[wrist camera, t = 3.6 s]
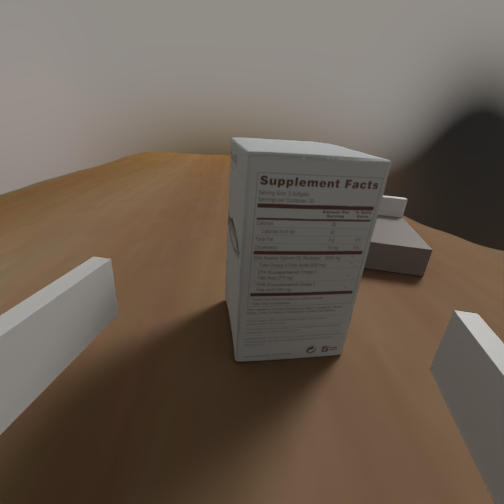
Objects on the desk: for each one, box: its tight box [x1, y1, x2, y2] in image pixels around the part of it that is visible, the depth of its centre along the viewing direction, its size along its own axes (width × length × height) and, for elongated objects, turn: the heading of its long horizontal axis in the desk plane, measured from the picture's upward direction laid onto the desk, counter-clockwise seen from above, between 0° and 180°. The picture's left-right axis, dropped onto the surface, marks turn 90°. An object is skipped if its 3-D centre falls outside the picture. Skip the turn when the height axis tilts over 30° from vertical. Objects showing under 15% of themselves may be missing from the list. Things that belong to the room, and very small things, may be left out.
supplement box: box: [225, 138, 391, 362], centre depth 20 cm, size 7×7×13 cm
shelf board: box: [364, 196, 432, 276], centre depth 37 cm, size 16×12×5 cm
